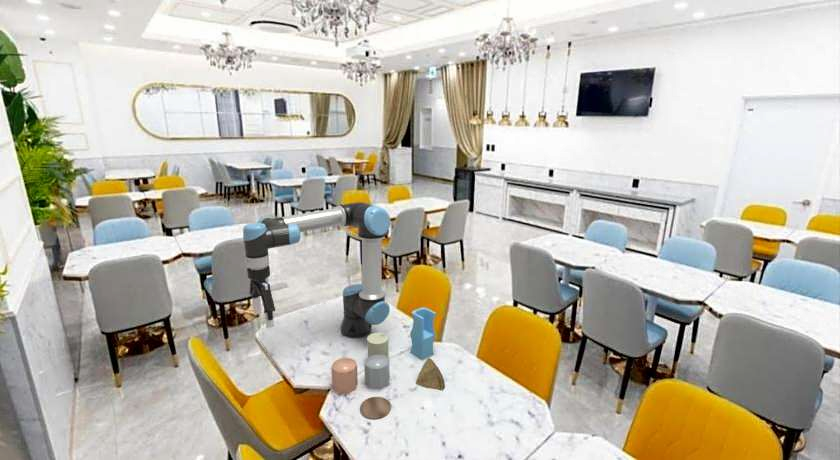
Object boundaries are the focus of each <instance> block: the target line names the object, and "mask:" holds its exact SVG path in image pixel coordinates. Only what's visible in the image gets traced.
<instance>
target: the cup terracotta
mask: <svg viewBox="0 0 840 460" xmlns="http://www.w3.org/2000/svg"><path fill="white" fill-rule="evenodd" d="M330 369H331V370H330V372H331V388H332V389H333V391H335V393H336V394H345V395H346V394H349V393H351V392H353V391H355V390H356V389H357V387H358V381H359V380H358V363H357V362H356V360H354V359H353V358H351V357H342V358H341V357H340V358H339V359H336V360H335V361H334V362H333V363H332V364H331V368H330Z"/></svg>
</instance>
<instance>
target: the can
mask: <svg viewBox="0 0 840 460" xmlns="http://www.w3.org/2000/svg"><path fill="white" fill-rule="evenodd" d="M389 339H390V337H389V335H388V334H387V333H384V332H374V333H373V332H372V333H369V334H368V335H367V337H366V342H367V343H366V346H367V358H368V357H370V356H372V355H384V356H386V357H387V358H388V359H389V357H390V356H389V342H390V341H389Z"/></svg>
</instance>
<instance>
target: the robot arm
mask: <svg viewBox="0 0 840 460" xmlns="http://www.w3.org/2000/svg"><path fill="white" fill-rule="evenodd" d="M337 226H339V227H341V228H342V227H353V228H357V229H358V231H357V232H358V234H357V235H358V238H359V239H360V240H361V276H362V277H361V278H362V279H361V282H362V283H359V284H358V283H357V284H356V283H355V284H350V285H348V286H345V287H344V288H343V291H342V301H343V304H342V305H343V307H342V308H343V317H342V318H343V319H342V322H341V325H340V333H341V334H342V335H343V336H344V337H347V338H352V339H358V338H362V337H366V336H369V335H370V334H371V332H372V331H373V329H372V328H373V326H378V325H381V324H382V323H383V322H385V321H386V319H387V318H388V317H389V314H390V309H391V308H390V305H389V304H388V302H387V301H386V299H385V298H386V296H385V292H384V290H383V289H382V263H383V262H382V259H383V258H382V250H383V248H382V243H383V242H382V240H384V239H385V238H386V233H387V232H388V231H389V230H388V229H390V226H391V216H390V213H389V212H388V211H387V210H386V209H384V208H383V207H381V206H378V205H375V204H374V205H373V204H370V203H367V202H363V201H361V202H360V201H359V202H358V201H357V202H351V203H345V204H340V205H336V206H335V207H334V208H329V209H324V210H317V211H310V212H305V213H299V214H292V215H291V214H290V215H287V216H281V217H279V216H278V217H273V218H272V217H266V216H265V217H262V218H260V219H258V221H257V222H252V223H248V224H245V225H244V226H243V228H242V233H243V234H242V236H243V244H244V245H243V246H244V252H245V260H244V263H245V264H246V267H247V269H246V273H247V278H248V279H249V280H250V282H249V295H250V297H251V302H252V310H253V315H259V314H262V306H261V301H262V304H263V307H264V311H263V313H264V317H265V318H264V319H265V321H264V322H265V328H266V329H267V330H268V329H270V328H274V327H275V319H274V312H275V311H276V307H275V303H274V298H273V295H272V291H271V285H270V283H268V281H267V278H269V277H270V276H271V268H270V256H269V250H270V249H273V248H278V247H284V246H285V247H286V246H291V245H294V244H298V243H299V242H300V240H301V233H305V232H310V231H315V230H320V229H325V228H332V227H337Z"/></svg>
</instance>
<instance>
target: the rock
mask: <svg viewBox="0 0 840 460" xmlns="http://www.w3.org/2000/svg"><path fill="white" fill-rule="evenodd" d="M425 360H426V361H424V364H423V365H422V367H421V369H420V371H419V373H418V376H417V378H416V381H415V385H419V386H421V387H424V388H428V389H438V390H444V388H445V387H446V383H445V379H444V376H443V374H442V372H441V370H440V368H439V367H438V366H437V365H436V363H435V362H434V360H433V359H432V358H431V357H428V358H426V359H425Z"/></svg>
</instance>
